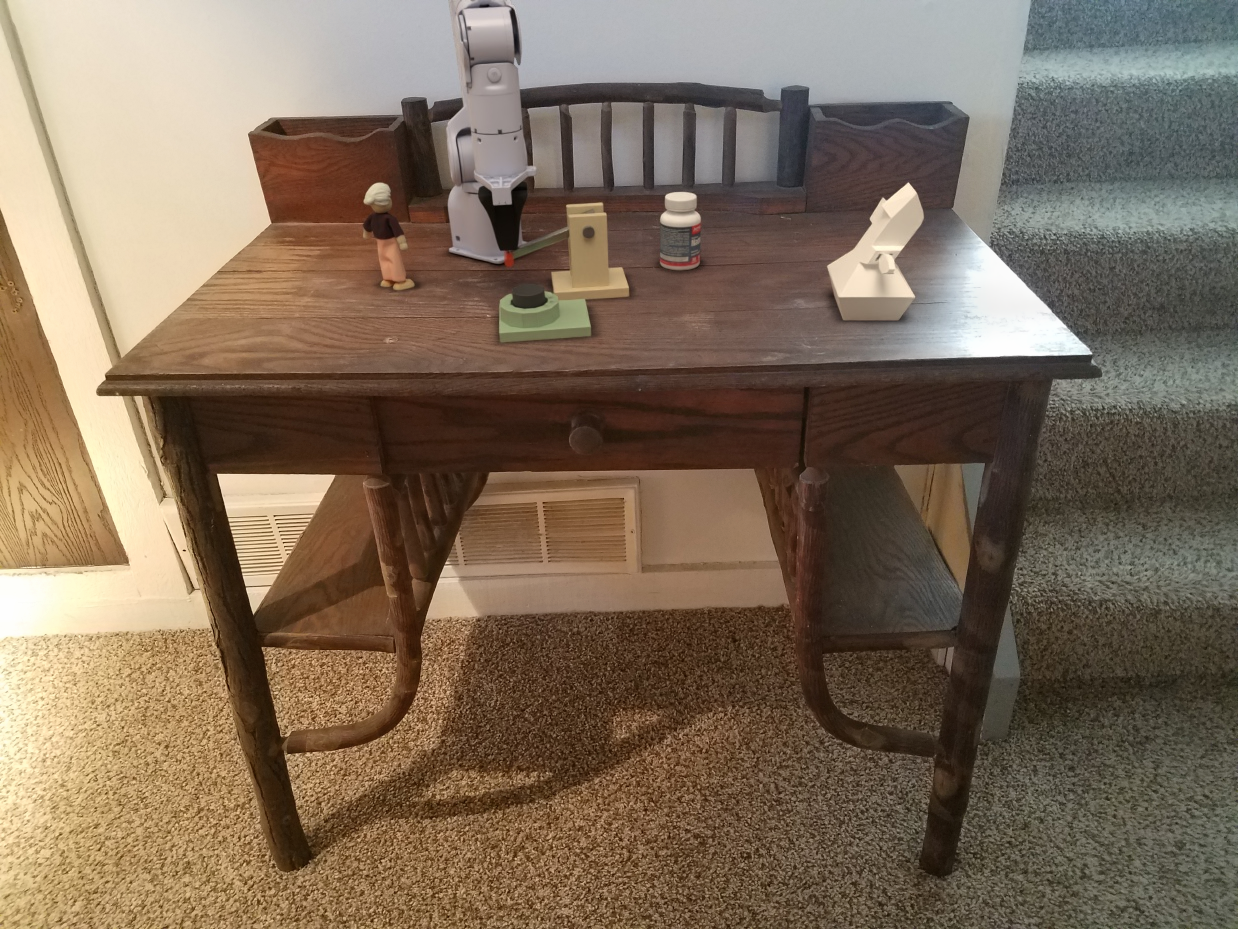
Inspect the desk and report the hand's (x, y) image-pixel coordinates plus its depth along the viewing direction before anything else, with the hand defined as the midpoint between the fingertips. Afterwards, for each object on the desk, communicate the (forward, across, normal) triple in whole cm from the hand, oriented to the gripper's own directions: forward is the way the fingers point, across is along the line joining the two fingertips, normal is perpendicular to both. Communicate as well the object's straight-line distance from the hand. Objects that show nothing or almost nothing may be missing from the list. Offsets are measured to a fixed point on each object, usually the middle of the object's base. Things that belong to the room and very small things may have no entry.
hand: (508, 248), depth 104 cm
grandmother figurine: (+6, +6, +15) cm, 17 cm away
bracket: (+6, 0, -10) cm, 11 cm away
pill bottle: (+6, +6, -22) cm, 24 cm away
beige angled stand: (+6, -12, -40) cm, 43 cm away
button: (+3, -10, -2) cm, 11 cm away
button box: (+6, -10, -4) cm, 12 cm away
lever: (0, 0, -6) cm, 6 cm away
